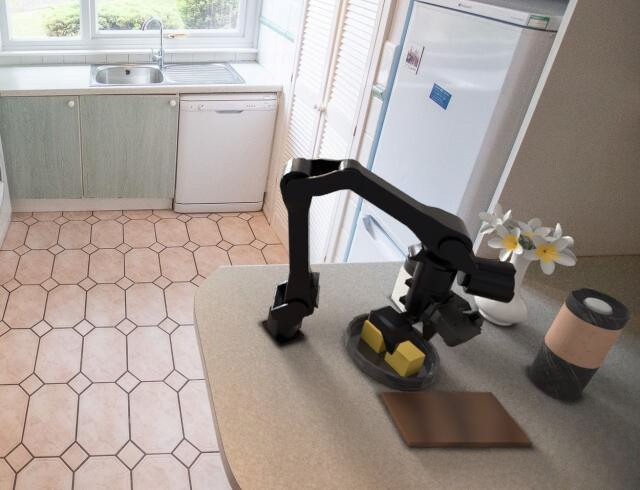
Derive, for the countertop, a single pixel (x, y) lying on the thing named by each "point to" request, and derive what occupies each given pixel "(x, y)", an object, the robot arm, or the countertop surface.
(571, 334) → the travel mug
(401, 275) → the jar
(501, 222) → the flower vase
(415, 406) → the board
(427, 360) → the pan
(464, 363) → the countertop surface
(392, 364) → the cheese front
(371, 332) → the cheese back
